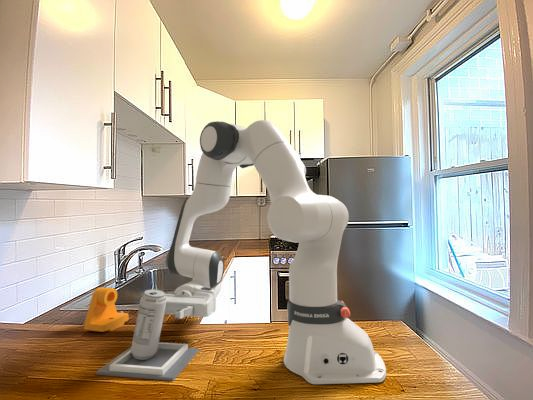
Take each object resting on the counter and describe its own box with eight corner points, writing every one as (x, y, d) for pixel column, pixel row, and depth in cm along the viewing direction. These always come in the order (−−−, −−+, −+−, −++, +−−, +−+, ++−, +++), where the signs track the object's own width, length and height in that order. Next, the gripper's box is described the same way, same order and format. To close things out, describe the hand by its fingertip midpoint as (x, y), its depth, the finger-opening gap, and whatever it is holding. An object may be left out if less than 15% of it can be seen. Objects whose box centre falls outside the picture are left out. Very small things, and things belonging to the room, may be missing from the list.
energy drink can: (161, 355, 73) (173, 294, 74) (140, 364, 68) (152, 299, 68) (146, 345, 77) (157, 287, 77) (124, 352, 72) (136, 290, 72)
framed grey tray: (199, 350, 77) (199, 343, 77) (173, 380, 63) (173, 372, 63) (134, 346, 80) (134, 339, 80) (96, 374, 66) (96, 366, 66)
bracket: (103, 334, 88) (104, 293, 89) (84, 332, 90) (84, 291, 91) (129, 322, 98) (130, 284, 99) (111, 320, 100) (112, 283, 101)
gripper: (157, 286, 91) (125, 298, 78) (220, 289, 86) (197, 303, 73) (157, 307, 91) (125, 323, 78) (220, 312, 86) (197, 330, 73)
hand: (160, 314), depth 75 cm, fingers open, 8 cm apart
